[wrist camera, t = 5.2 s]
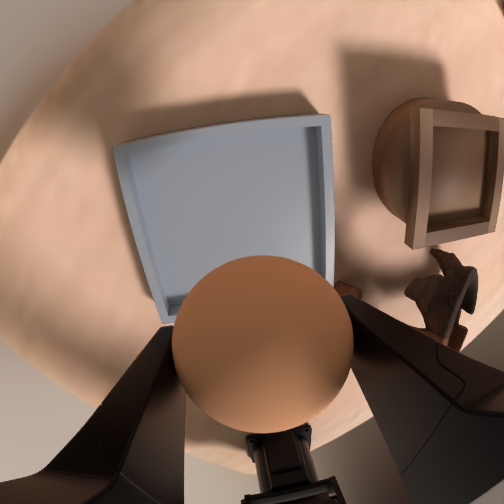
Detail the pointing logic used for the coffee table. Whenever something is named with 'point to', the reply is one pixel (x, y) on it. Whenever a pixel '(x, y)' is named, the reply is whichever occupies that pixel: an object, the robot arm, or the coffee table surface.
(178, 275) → the tray
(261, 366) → the ball
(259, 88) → the coffee table surface
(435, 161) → the open wooden box
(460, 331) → the pottery mug
